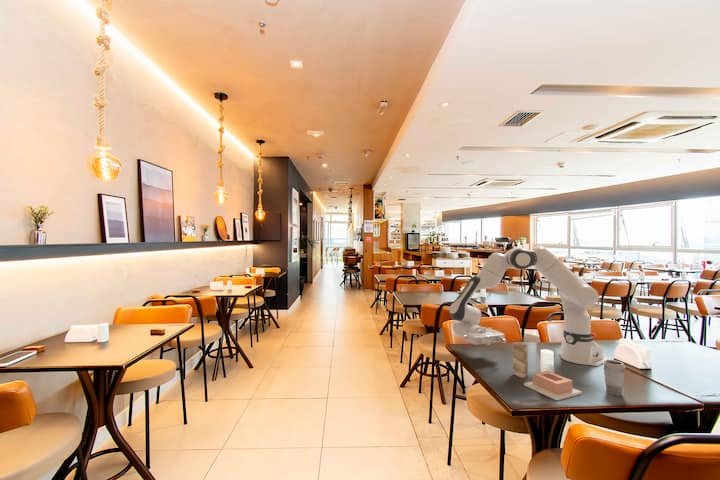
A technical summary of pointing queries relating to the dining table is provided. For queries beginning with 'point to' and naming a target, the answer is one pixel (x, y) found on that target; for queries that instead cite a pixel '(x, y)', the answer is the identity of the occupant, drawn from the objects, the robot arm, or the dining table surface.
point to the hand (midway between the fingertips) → (497, 342)
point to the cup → (614, 376)
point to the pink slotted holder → (552, 385)
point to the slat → (520, 359)
